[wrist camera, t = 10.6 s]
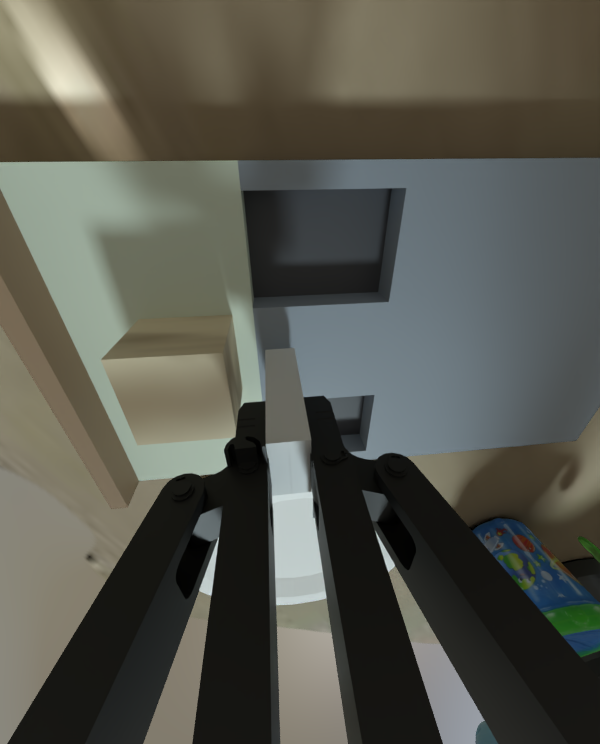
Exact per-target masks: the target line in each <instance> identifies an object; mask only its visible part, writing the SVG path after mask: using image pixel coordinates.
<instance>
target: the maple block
mask: <svg viewBox="0 0 600 744" xmlns="http://www.w3.org/2000/svg"><path fill="white" fill-rule="evenodd" d="M101 362H102V364H103V367H104V369H105V371H106V374H107V376H108V378H109V381H110V383H111V385H112V388H113V390H114V392H115V394H116V397H117V399H118V401H119V404H120V406H121V408H122V411H123V413H124V415H125V418H126V420H127V422H128V425H129V427H130V429H131V432H132V434H133V436H134V439H135V441H136V443H137V445H148V444H161V443H173V442H186V441H198V440H211V439H223V438H234V437H235V435H236V428H237V427H236V426H237V418H238V411H239V409H240V407H241V398H242V389H243V388H242V380H241V373H240V366H239V359H238V352H237V345H236V338H235V330H234V323H233V316H232V315H217V316H196V317H174V318H153V319H139V320H138V321H137V322H136V323H135V324H134V325H133V326H132V327H131V328H130V329H129V330H128V331H127V332H126V333H125V334H124V336H123V337H122V338H121V339H120V340H119V341H118V342H117V343H116V344H115V345H114V346H113V347H112V348H111V349H110V350H109V351H108V353H107V354H106V355H105V356H104V357H103V358H102V359H101Z"/></svg>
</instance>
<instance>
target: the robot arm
mask: <svg viewBox="0 0 600 744" xmlns="http://www.w3.org/2000/svg"><path fill="white" fill-rule="evenodd" d="M236 427H237V428H236V435H235V437H234V438H232V439H231V440H230V441H229V442H228V443H227V444H226V446H225V448H224V453H225V458H226V462H227V467H226V468H224V469H223V470H222V471H220V472H218V473H216V474H214V475H211V476H208V477H206V478H203V479H202V478H201V477H200V476H199V475H196V474H193V473H187V474H182V475H179V476H176V477H175V478H173V479H172V480H170V481H169V482H168V483H167V484H166V485H165V486H164V488H163V489H162V490H161V492H160V494H159V495H158V497H157V499H156V500H155V502H154V504H153V505H152V507H151V509H150V510H149V512H148V513H147V515H146V517H145V518H144V520H143V522H142V523H141V525H140V527H139V528H138V530H137V532H136V533H135V535H134V536H133V538H132V540H131V541H130V543H129V545H128V546H127V548H126V550H125V551H124V553H123V555H122V556H121V558H120V559H119V561H118V563H117V564H116V566H115V568H114V569H113V571H112V573H111V574H110V576H109V578H108V579H107V581H106V582H105V584H104V586H103V587H102V589H101V591H100V592H99V594H98V596H97V598H96V599H95V601H94V602H93V604H92V605H91V607H90V609H89V610H88V612H87V614H86V616H85V617H84V619H83V620H82V622H81V624H80V625H79V627H78V629H77V630H76V632H75V633H74V635H73V637H72V638H71V640H70V642H69V643H68V645H67V647H66V648H65V650H64V652H63V653H62V655H61V657H60V658H59V660H58V662H57V663H56V665H55V666H54V668H53V670H52V671H51V673H50V675H49V676H48V678H47V679H46V681H45V683H44V685H43V686H42V688H41V689H40V691H39V693H38V694H37V696H36V698H35V699H34V701H33V702H32V704H31V706H30V707H29V709H28V711H27V712H26V714H25V716H24V717H23V719H22V721H21V722H20V724H19V725H18V727H17V729H16V730H15V732H14V734H13V735H12V737H11V739H10V740H9V742H8V744H143V742H144V740H145V737H146V734H147V732H148V729H149V726H150V723H151V721H152V718H153V715H154V712H155V709H156V707H157V704H158V701H159V699H160V696H161V693H162V691H163V688H164V685H165V682H166V680H167V677H168V674H169V671H170V668H171V666H172V663H173V660H174V658H175V655H176V652H177V650H178V646H179V644H180V641H181V638H182V636H183V633H184V630H185V628H186V625H187V622H188V619H189V617H190V614H191V611H192V609H193V606H194V603H195V600H196V598H197V595H198V592H199V589H200V587H201V584H202V581H203V578H204V576H205V573H206V570H207V568H208V565H209V562H210V559H211V557H212V554H213V551H214V548H215V546H216V543H217V540H218V538H219V540H218V548H217V556H216V564H215V571H214V579H213V587H212V595H211V603H210V611H209V618H208V626H207V634H206V642H205V650H204V658H203V665H202V673H201V681H200V689H199V697H198V704H197V712H196V720H195V728H194V735H193V744H280V722H279V689H278V655H277V619H276V586H275V552H274V518H273V504H272V496H276V495H285V494H295V493H304V492H312V494H313V518H315V523H316V530H317V537H318V544H319V550H320V557H321V564H322V571H323V577H324V584H325V591H326V598H327V604H328V611H329V618H330V625H331V631H332V638H333V644H334V651H335V658H336V665H337V672H338V678H339V685H340V692H341V698H342V705H343V712H344V719H345V726H346V732H347V739H348V744H443V743H442V740H441V736H440V733H439V730H438V727H437V724H436V721H435V718H434V714H433V711H432V708H431V705H430V702H429V699H428V696H427V692H426V689H425V686H424V683H423V680H422V677H421V674H420V671H419V667H418V664H417V661H416V658H415V655H414V652H413V648H412V645H411V642H410V639H409V636H408V633H407V630H406V626H405V623H404V620H403V617H402V614H401V611H400V608H399V605H398V601H397V598H396V595H395V592H394V589H393V586H392V583H391V579H390V576H389V573H388V570H387V567H386V564H385V561H384V557H383V554H382V551H381V548H380V545H379V542H378V539H377V535H378V536H379V538H380V540H381V542H382V543H383V545H384V547H385V549H386V550H387V552H388V554H389V556H390V557H391V559H392V561H393V562H394V564H395V566H396V568H397V569H398V571H399V573H400V575H401V576H402V578H403V580H404V582H405V583H406V585H407V587H408V588H409V590H410V592H411V594H412V595H413V597H414V599H415V601H416V602H417V604H418V606H419V607H420V609H421V611H422V613H423V614H424V616H425V618H426V620H427V621H428V623H429V625H430V627H431V628H432V630H433V632H434V633H435V635H436V637H437V639H438V640H439V642H440V644H441V646H442V647H443V649H444V651H445V653H446V654H447V656H448V658H449V659H450V661H451V663H452V664H453V666H454V668H455V670H456V672H457V673H458V675H459V677H460V678H461V680H462V682H463V684H464V685H465V687H466V689H467V691H468V692H469V694H470V696H471V697H472V699H473V701H474V703H475V704H476V706H477V708H478V710H479V711H480V713H481V715H482V716H483V718H484V720H485V721H483V722H481V723H480V724H479V726H478V728H477V732H476V744H600V651H598V652H594V653H592V654H589V655H586V656H583V657H580V656H579V655H578V654H577V652H576V651H575V650H574V649H573V648H572V647H571V645H570V644H569V643H568V642H567V641H566V640H565V639H564V637H563V636H562V635H561V634H560V633H559V632H558V630H557V629H556V628H555V627H554V626H553V625H552V623H551V622H550V621H549V620H548V619H547V618H546V616H545V615H544V614H543V613H542V612H541V611H540V609H539V608H538V607H537V606H536V605H535V604H534V603H533V601H532V600H531V599H530V598H529V597H528V596H527V594H526V593H525V592H524V591H523V590H522V589H521V587H520V586H519V585H518V584H517V583H516V582H515V580H514V579H513V578H512V577H511V576H510V575H509V573H508V572H507V571H506V570H505V569H504V568H503V566H502V565H501V564H500V563H499V562H498V561H497V560H496V558H495V557H494V556H493V555H492V554H491V553H490V551H489V550H488V549H487V548H486V547H485V546H484V544H483V543H482V542H481V541H480V540H479V539H478V537H477V536H476V535H475V534H474V533H473V532H472V530H471V529H470V528H469V527H468V526H467V525H466V523H465V522H464V521H463V520H462V519H461V518H460V517H459V515H458V514H457V513H456V512H455V511H454V510H453V508H452V507H451V506H450V505H449V504H448V503H447V501H446V500H445V499H444V498H443V497H442V496H441V494H440V493H439V492H438V491H437V490H436V489H435V487H434V486H433V485H432V484H431V483H430V482H429V480H428V479H427V478H426V477H425V476H424V475H423V474H422V472H421V471H420V470H419V469H418V468H417V467H416V465H415V464H414V463H413V462H412V461H411V460H409V459H408V458H407V457H405V456H403V455H401V454H397V453H385V454H383V455H381V456H379V457H378V459H377V460H376V461H374V460H368V459H363V458H359V457H357V456H355V455H353V454H351V453H350V452H349V451H348V450H347V449H346V448H345V446H344V444H343V442H342V438H341V435H340V432H339V428H338V425H337V422H336V419H335V415H334V412H333V409H332V406H331V402H330V401H329V400H328V399H327V398H326V397H325V396H312V397H303V392H302V387H301V381H300V376H299V371H298V365H297V360H296V354H295V349H294V348H285V349H270V350H265V401H260V402H248V403H244V404H243V405H242V406H241V408H240V409H239V411H238V418H237V426H236ZM375 531H376V532H375ZM376 533H377V535H376ZM563 565H564V566H565V567H566V568H567V569H568V570H569V571H570V573H571V574H572V575H573V576H574V577H575V578H576V579H577V580H578V581H579V582H580V583H581V584H582V585H583V586H584V588H585V589H586V590H587V591H588V592H589V593H590V594H591V595H592V596H593V597H594V598H595V599H596V600H597V601H598V602H599V603H600V563H599V562H598V561H597V560H596V559H585V560H578V561H573V562H569V563H565V564H563Z"/></svg>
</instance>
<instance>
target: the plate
mask: <svg viewBox="0 0 600 744" xmlns="http://www.w3.org/2000/svg"><path fill="white" fill-rule="evenodd" d="M272 504H273V518H274V552H275V586H276V605H290V604H299V603H305V602H312V601H318V600H322V599H326V591H325V584H324V577H323V571H322V564H321V557H320V550H319V544H318V537H317V530H316V523H315V518H313V494H312V492H304V493H295V494H285V495H276V496H272ZM375 532H376V531H375ZM376 535H377V533H376ZM377 539H378V542H379V545H380V548H381V551H382V554H383V557H384V561H385V564H386V567H387V570H388V572H389V571H390V570H391V569H392V568H393V567H395V564H394V562H393V561H392V559H391V557H390V556H389V554H388V552H387V550H386V549H385V547H384V545H383V543H382V542H381V540H380V538H379V536H378V535H377ZM218 540H219V538H218ZM218 540H217V543H216V546H215V548H214V551H213V554H212V557H211V559H210V562H209V565H208V568H207V570H206V573H205V576H204V578H203V581H202V584H201V587H200V589H199V591H201V592H203V593H205V594H208V595H210V596H211V595H212V587H213V579H214V571H215V564H216V556H217V548H218Z"/></svg>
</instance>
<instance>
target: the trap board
mask: <svg viewBox="0 0 600 744" xmlns="http://www.w3.org/2000/svg"><path fill="white" fill-rule="evenodd" d="M217 315H232V316H233V323H234V330H235V338H236V345H237V352H238V359H239V366H240V373H241V380H242V388H243V389H242V398H241V406H242V405H243V404H244V403H248V402H260V401H265V350H270V349H285V348H294V349H295V354H296V360H297V365H298V371H299V376H300V381H301V387H302V392H303V397H312V396H325V397H326V398H327V399H328V400H329V401H330V402H331V406H332V409H333V412H334V415H335V419H336V422H337V425H338V428H339V432H340V435H341V438H342V442H343V444H344V446H345V448H346V449H347V450H348V451H349V452H350V453H351V454H353V455H355V456H357V457H359V458H363V459H368V460H372V459H378V457H379V456H381V455H383V454H385V453H397V454H401V455H403V456H415V455H426V454H437V453H448V452H459V451H470V450H480V449H491V448H502V447H513V446H524V445H535V444H546V443H557V442H567V441H576V440H577V439H578V437H579V436H580V435H581V433H582V432H583V430H584V429H585V427H586V426H587V424H588V423H589V421H590V420H591V418H592V417H593V416H594V414H595V413H596V411H597V410H598V408H599V407H600V158H503V159H368V160H233V161H98V162H0V325H1V326H2V328H3V330H4V331H5V333H6V335H7V336H8V338H9V340H10V341H11V343H12V345H13V346H14V348H15V350H16V351H17V353H18V355H19V356H20V358H21V360H22V361H23V363H24V365H25V366H26V368H27V370H28V371H29V373H30V375H31V376H32V378H33V380H34V381H35V383H36V385H37V386H38V388H39V390H40V391H41V393H42V395H43V396H44V398H45V400H46V401H47V403H48V405H49V406H50V408H51V410H52V411H53V413H54V415H55V416H56V418H57V420H58V421H59V423H60V425H61V426H62V428H63V430H64V431H65V433H66V435H67V436H68V438H69V440H70V441H71V443H72V444H73V446H74V448H75V449H76V451H77V453H78V454H79V456H80V458H81V459H82V461H83V463H84V464H85V466H86V468H87V469H88V471H89V473H90V474H91V476H92V478H93V479H94V481H95V483H96V484H97V486H98V488H99V489H100V491H101V493H102V494H103V496H104V498H105V499H106V501H107V503H108V504H109V506H110V508H111V509H117V508H127V507H128V506H129V503H130V501H131V499H132V496H133V494H134V492H135V489H136V487H137V485H138V482H139V481H143V480H154V479H165V478H175V477H176V476H179V475H182V474H187V473H193V474H196V475H209V474H216V473H218V472H220V471H222V470H223V469H224V468H226V467H227V462H226V458H225V453H224V448H225V446H226V444H227V443H228V442H229V441H230V440H231V439H232V438H223V439H211V440H198V441H186V442H173V443H161V444H148V445H137V443H136V441H135V439H134V436H133V434H132V432H131V429H130V427H129V425H128V422H127V420H126V418H125V415H124V413H123V411H122V408H121V406H120V404H119V401H118V399H117V397H116V394H115V392H114V390H113V388H112V385H111V383H110V381H109V378H108V376H107V374H106V371H105V369H104V367H103V364H102V362H101V359H102V358H103V357H104V356H105V355H106V354H107V353H108V351H109V350H110V349H111V348H112V347H113V346H114V345H115V344H116V343H117V342H118V341H119V340H120V339H121V338H122V337H123V336H124V334H125V333H126V332H127V331H128V330H129V329H130V328H131V327H132V326H133V325H134V324H135V323H136V322H137V321H138V320H139V319H153V318H174V317H196V316H217ZM240 408H241V407H240Z"/></svg>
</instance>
